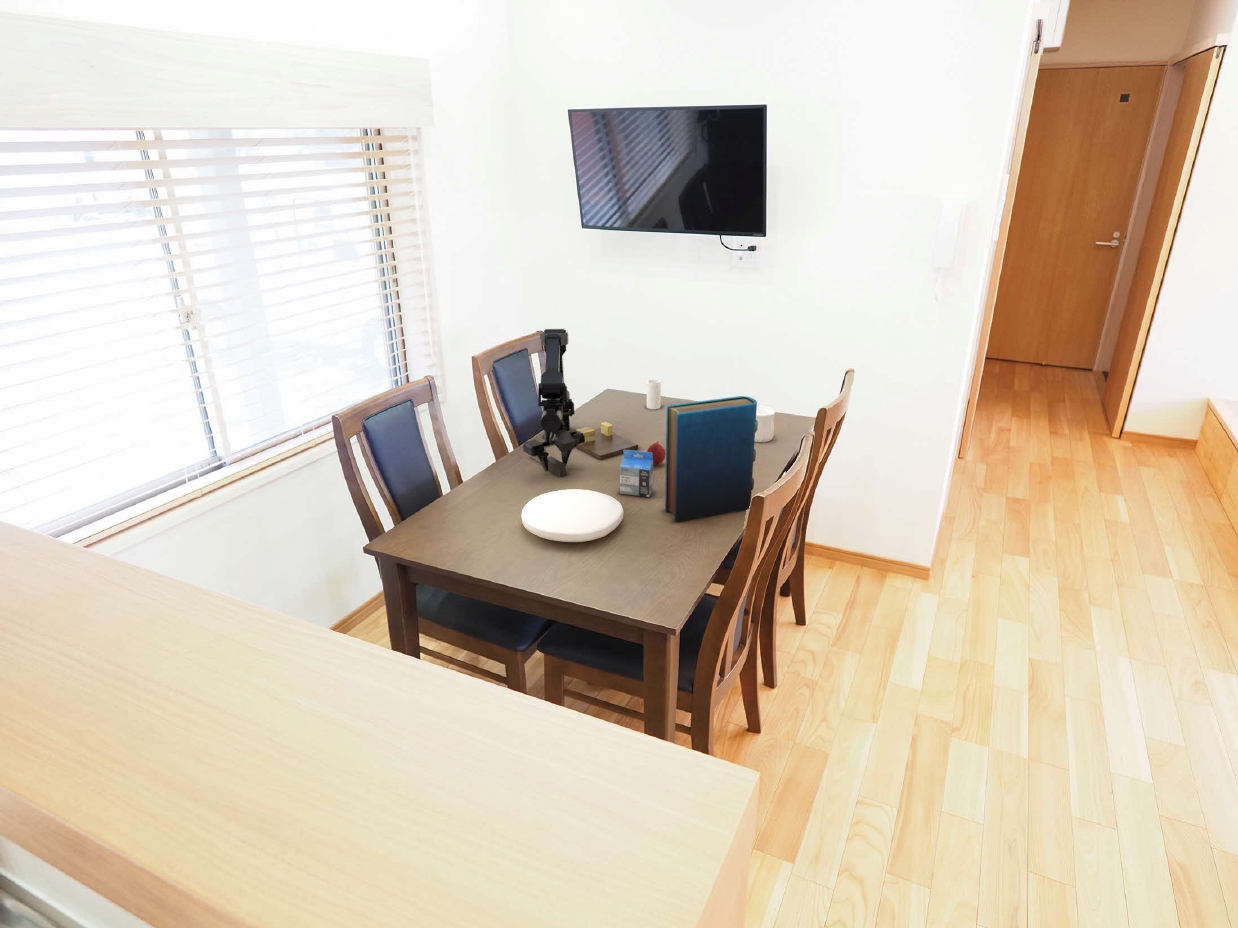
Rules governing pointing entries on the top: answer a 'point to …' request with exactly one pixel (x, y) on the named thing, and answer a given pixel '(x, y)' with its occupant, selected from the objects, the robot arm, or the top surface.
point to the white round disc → (572, 515)
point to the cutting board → (604, 443)
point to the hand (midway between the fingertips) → (555, 468)
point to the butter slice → (606, 429)
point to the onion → (657, 453)
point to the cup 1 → (653, 394)
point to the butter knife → (554, 465)
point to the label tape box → (636, 473)
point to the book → (710, 457)
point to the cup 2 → (764, 424)
